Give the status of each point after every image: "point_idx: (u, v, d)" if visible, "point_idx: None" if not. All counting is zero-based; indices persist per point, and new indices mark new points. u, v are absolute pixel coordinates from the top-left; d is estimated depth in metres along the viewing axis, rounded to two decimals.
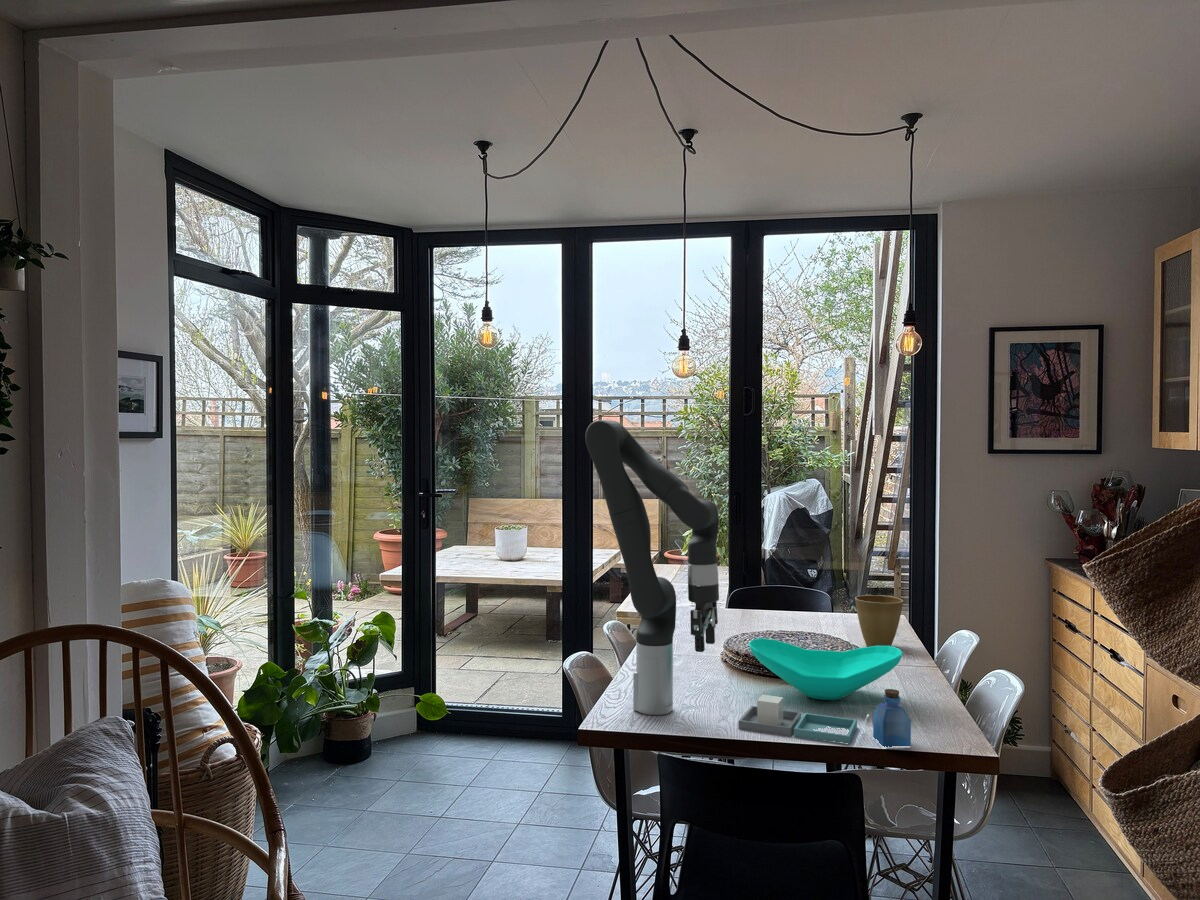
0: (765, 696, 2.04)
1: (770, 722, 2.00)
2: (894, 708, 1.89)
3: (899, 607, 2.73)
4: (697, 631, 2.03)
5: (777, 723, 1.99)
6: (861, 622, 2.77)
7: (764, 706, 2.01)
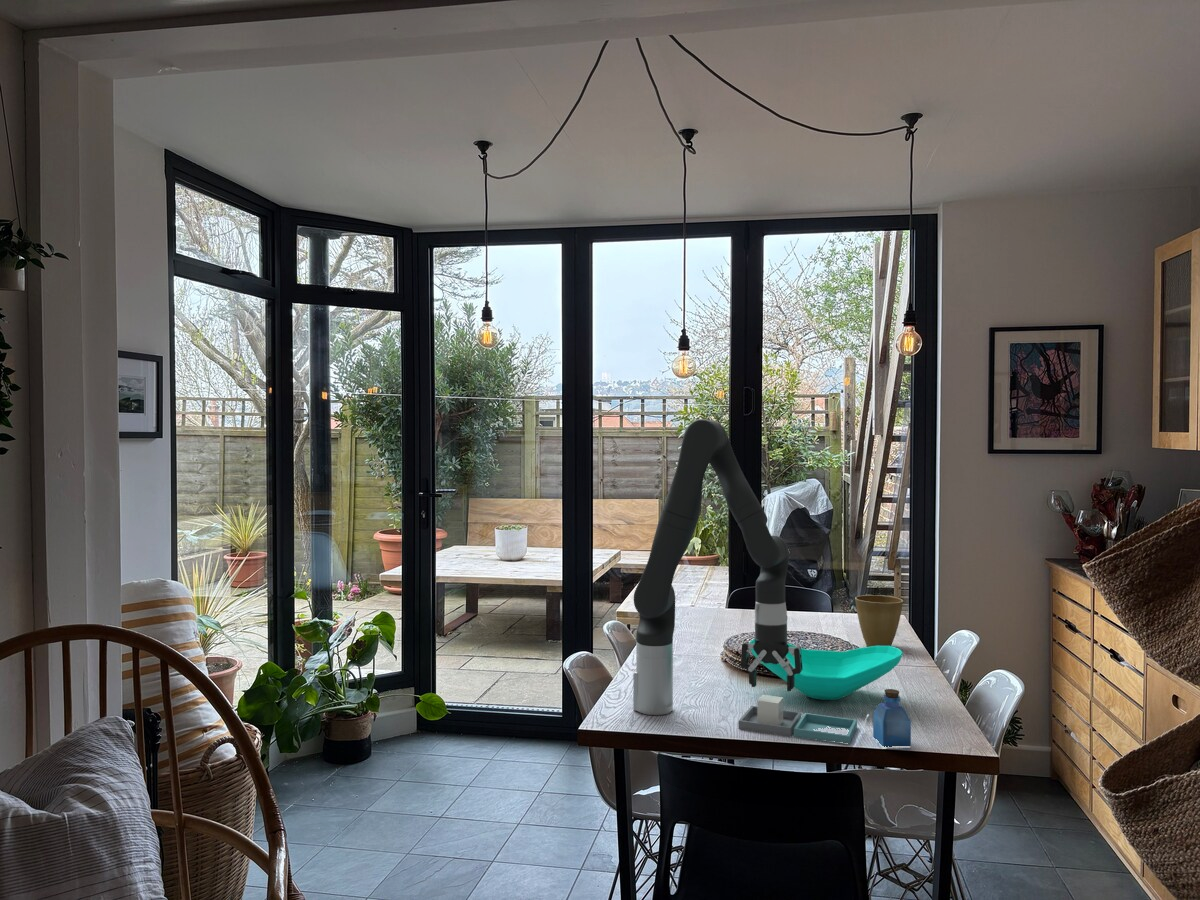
0: (765, 696, 2.04)
1: (770, 722, 2.00)
2: (894, 708, 1.89)
3: (899, 607, 2.73)
4: (800, 668, 2.00)
5: (777, 723, 1.99)
6: (861, 622, 2.77)
7: (764, 706, 2.01)
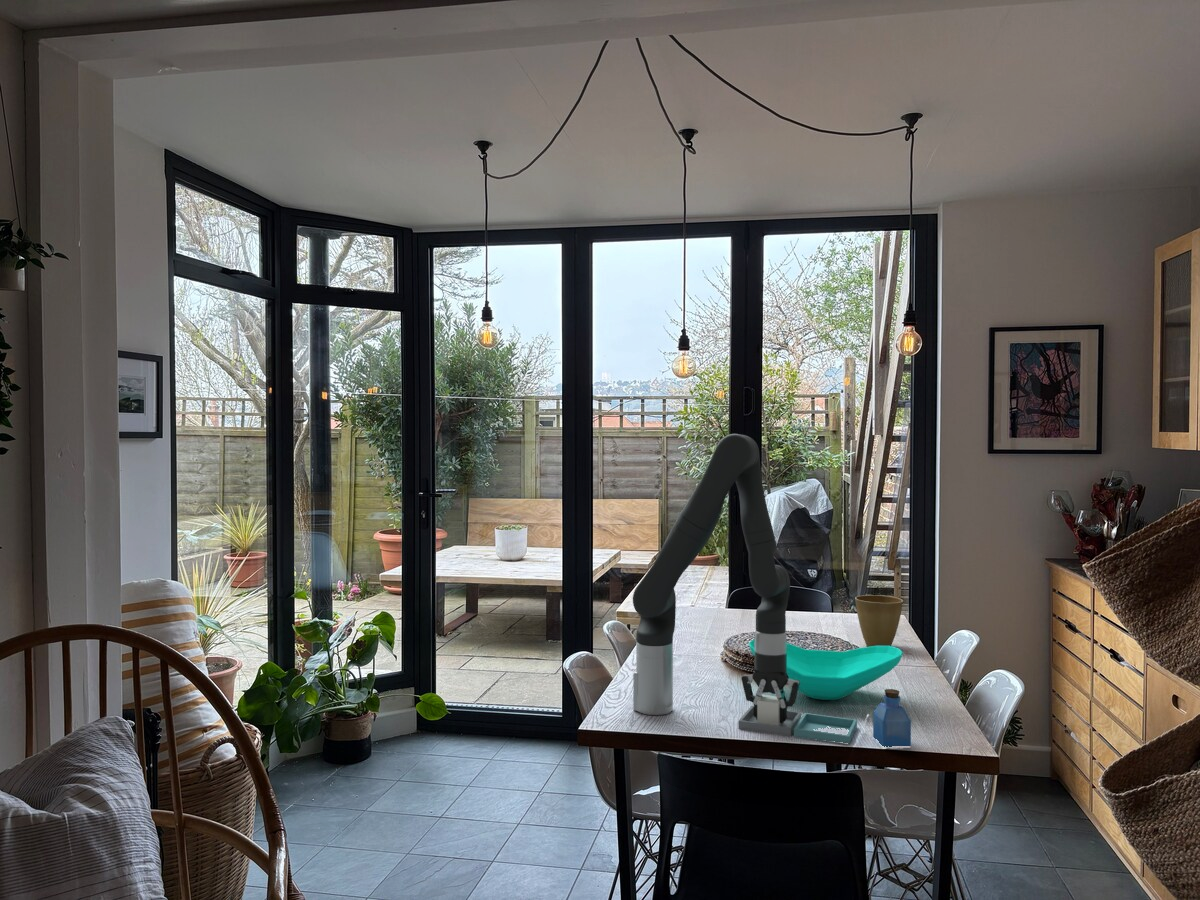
0: (765, 696, 2.04)
1: (770, 722, 2.00)
2: (894, 708, 1.89)
3: (899, 607, 2.73)
4: (793, 700, 2.01)
5: (777, 723, 1.99)
6: (861, 622, 2.77)
7: (764, 706, 2.01)
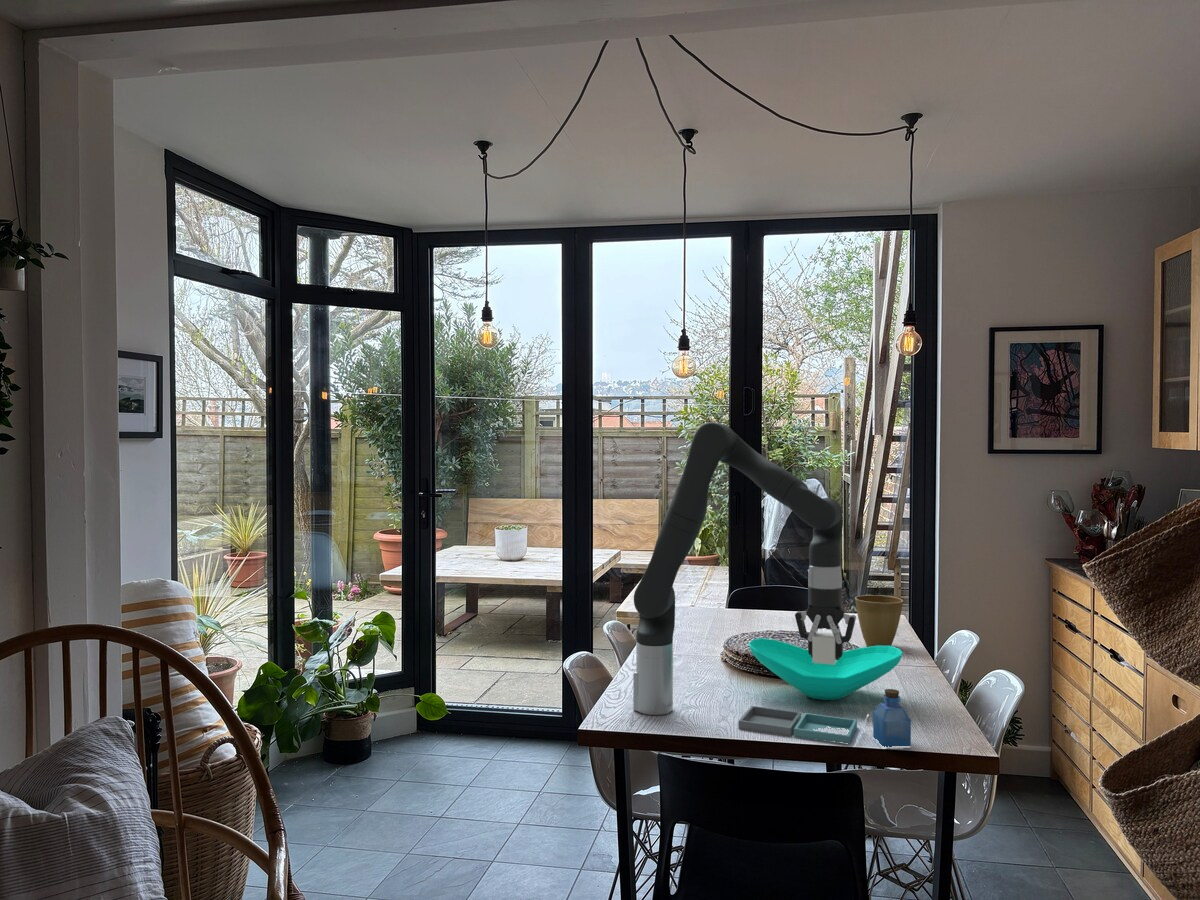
0: (820, 633, 1.99)
1: (826, 658, 1.95)
2: (894, 708, 1.89)
3: (899, 607, 2.73)
4: None
5: (833, 659, 1.94)
6: (861, 622, 2.77)
7: (819, 642, 1.95)
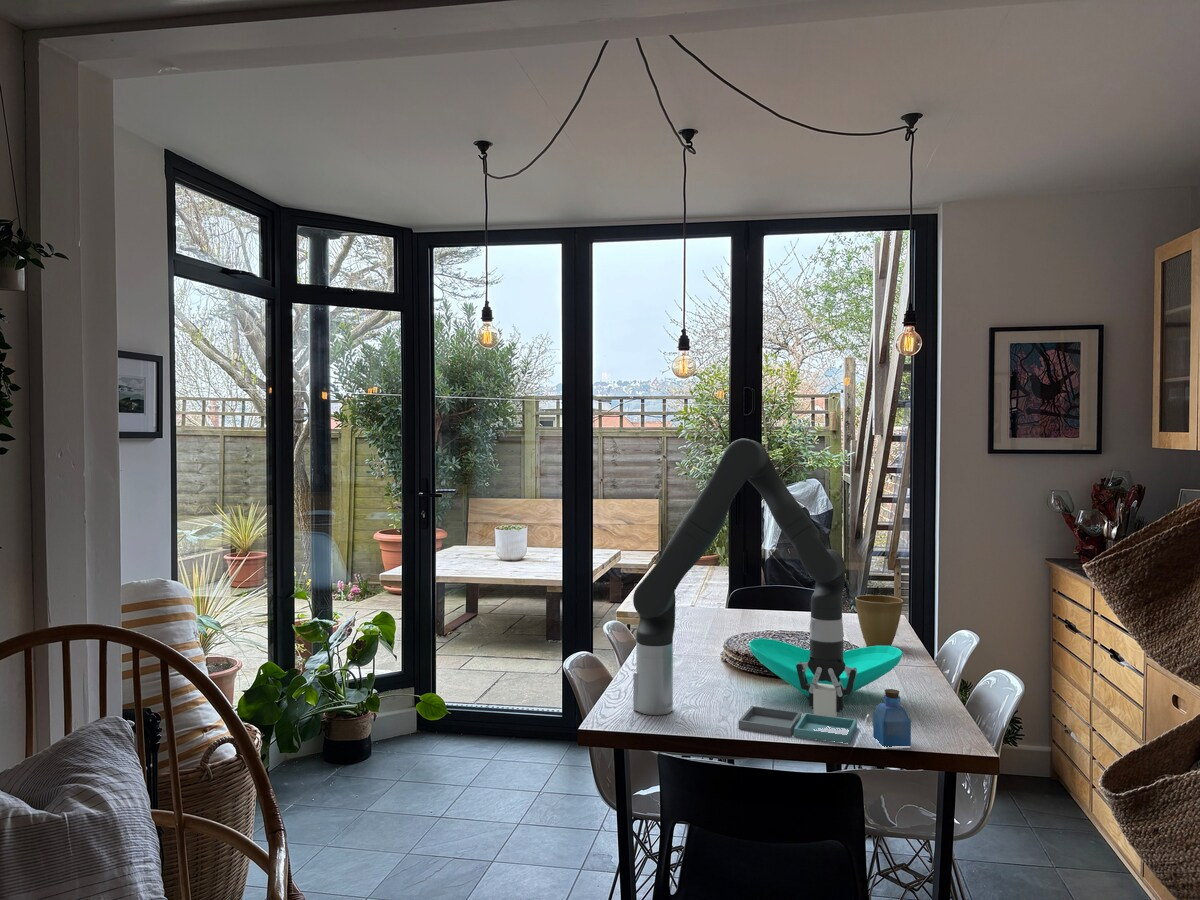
0: (821, 684, 1.99)
1: (827, 711, 1.95)
2: (894, 708, 1.89)
3: (899, 607, 2.73)
4: None
5: (834, 712, 1.94)
6: (861, 622, 2.77)
7: (820, 694, 1.95)
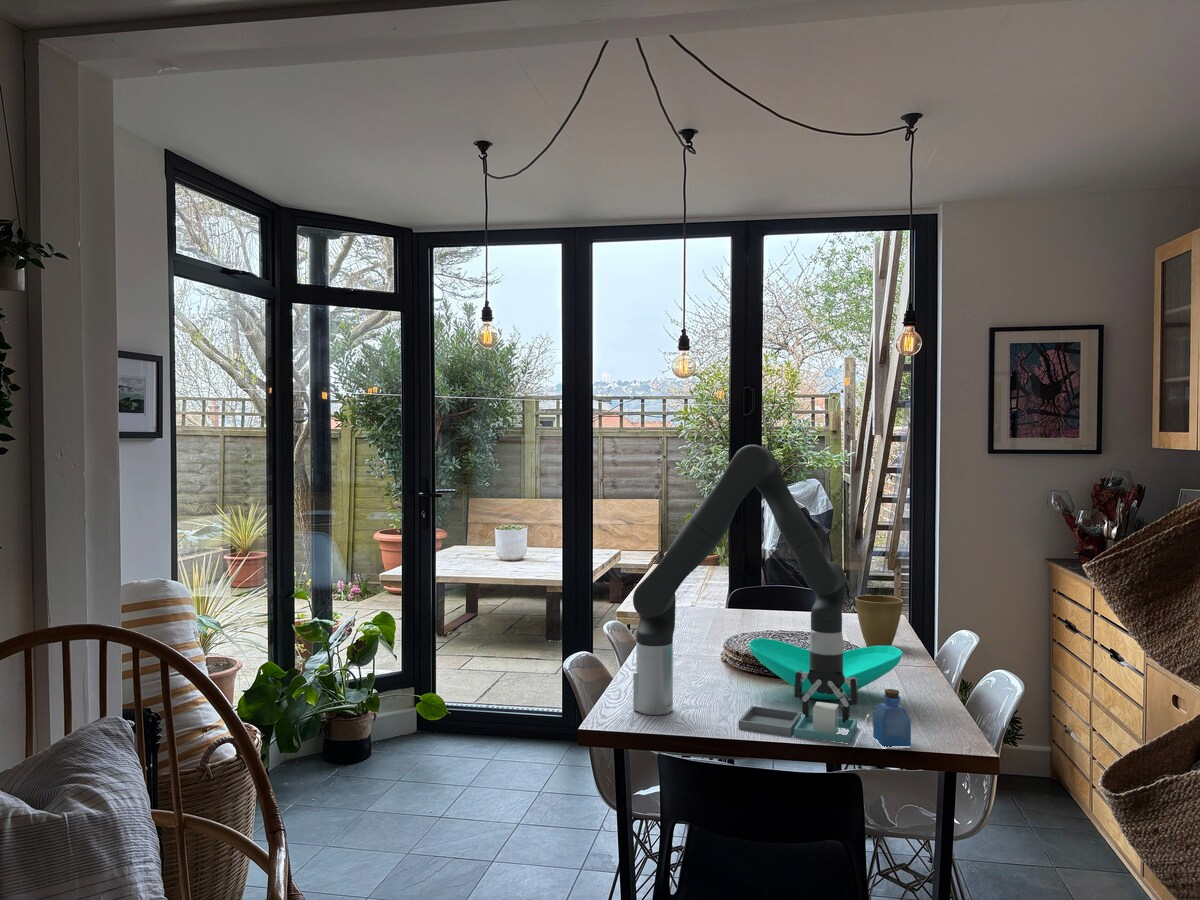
0: (820, 703, 1.99)
1: (826, 730, 1.95)
2: (894, 708, 1.89)
3: (899, 607, 2.73)
4: (856, 699, 1.95)
5: (833, 731, 1.94)
6: (861, 622, 2.77)
7: (819, 713, 1.95)
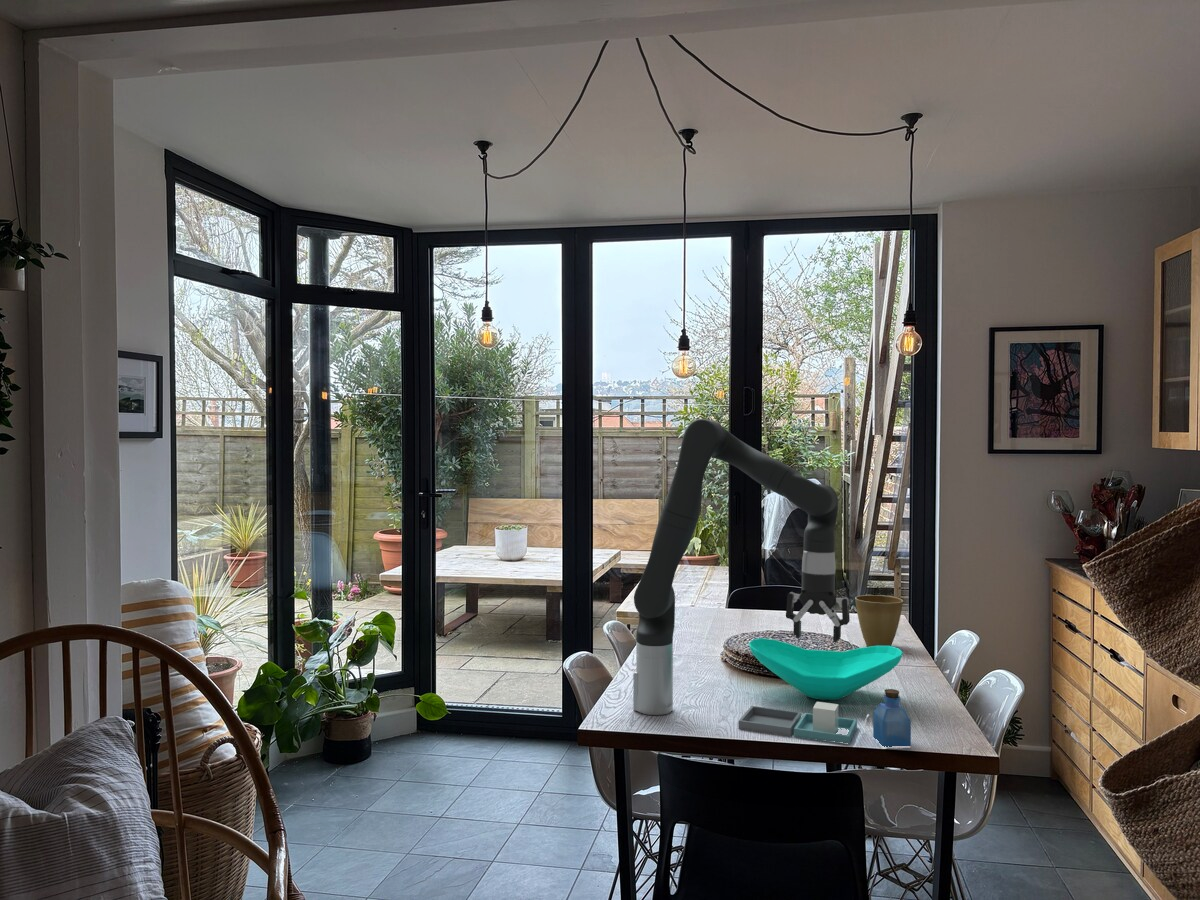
0: (820, 703, 1.99)
1: (826, 730, 1.95)
2: (894, 708, 1.89)
3: (899, 607, 2.73)
4: (848, 619, 1.96)
5: (833, 731, 1.94)
6: (861, 622, 2.77)
7: (819, 713, 1.95)
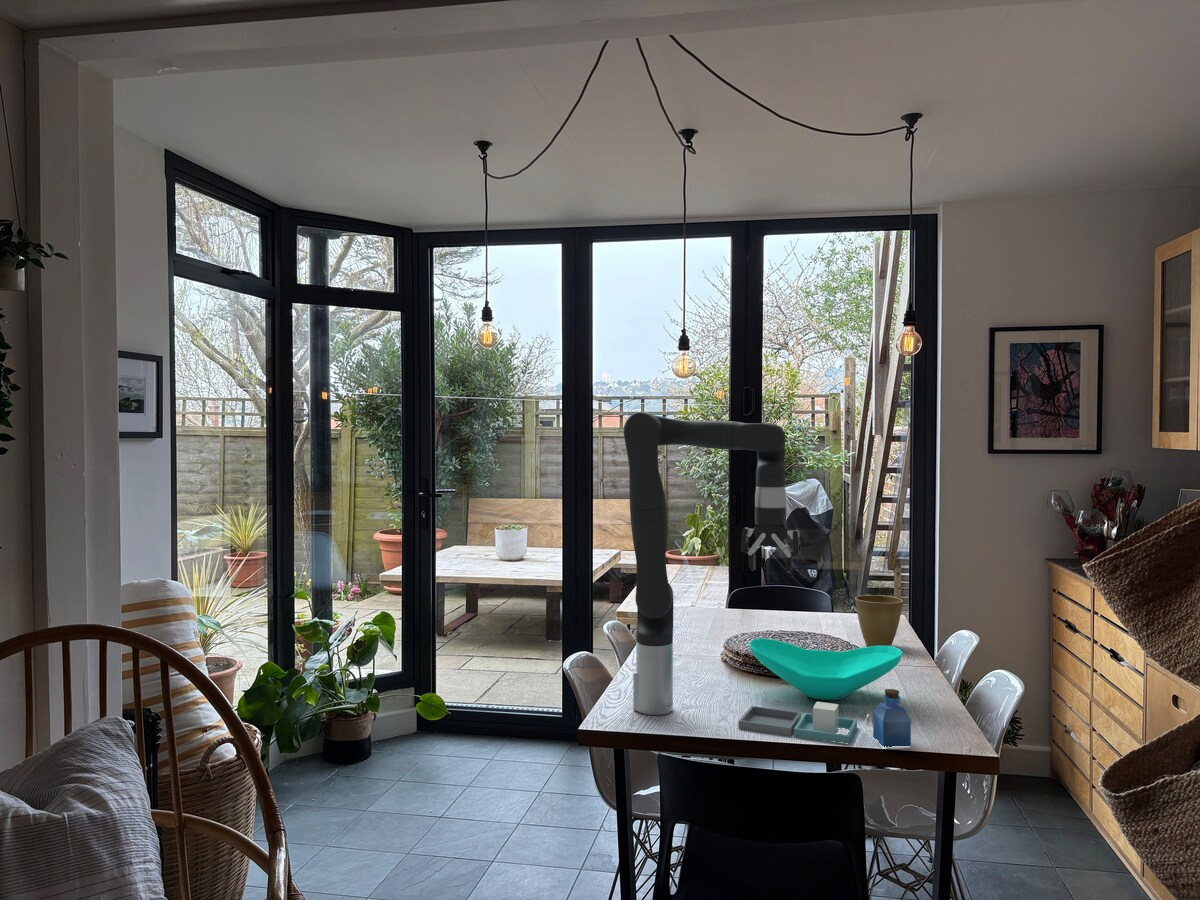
0: (820, 703, 1.99)
1: (826, 730, 1.95)
2: (894, 708, 1.89)
3: (899, 607, 2.73)
4: (799, 550, 2.06)
5: (833, 731, 1.94)
6: (861, 622, 2.77)
7: (819, 713, 1.95)
